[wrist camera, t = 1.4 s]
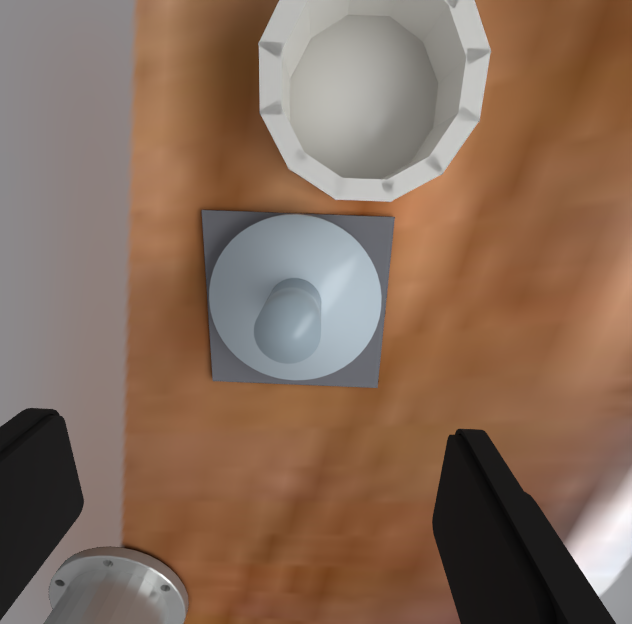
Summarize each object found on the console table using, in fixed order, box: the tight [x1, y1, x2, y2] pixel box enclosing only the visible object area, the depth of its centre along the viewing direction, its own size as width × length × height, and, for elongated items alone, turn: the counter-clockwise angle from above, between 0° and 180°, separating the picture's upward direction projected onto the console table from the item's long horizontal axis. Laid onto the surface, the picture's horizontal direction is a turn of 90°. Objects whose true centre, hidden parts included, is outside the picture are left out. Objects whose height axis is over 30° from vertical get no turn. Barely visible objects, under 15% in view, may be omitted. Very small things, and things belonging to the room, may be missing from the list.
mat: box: [202, 210, 395, 388], centre depth 24 cm, size 12×12×1 cm
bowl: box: [258, 0, 491, 202], centre depth 18 cm, size 10×10×5 cm
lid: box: [209, 214, 382, 380], centre depth 21 cm, size 11×11×6 cm
